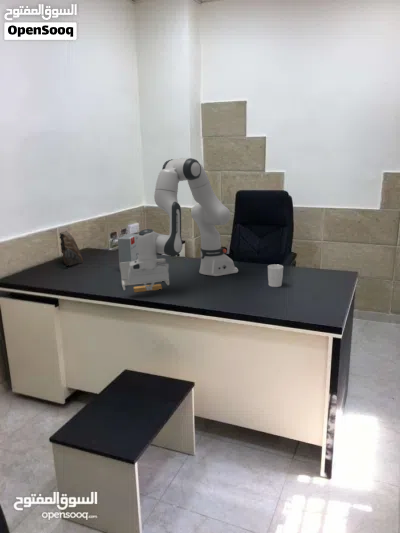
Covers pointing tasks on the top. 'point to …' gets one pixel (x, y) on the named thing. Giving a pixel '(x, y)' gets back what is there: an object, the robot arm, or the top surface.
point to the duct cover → (125, 267)
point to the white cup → (275, 275)
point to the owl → (70, 249)
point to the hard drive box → (128, 248)
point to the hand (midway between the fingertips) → (149, 290)
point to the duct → (125, 282)
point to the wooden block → (143, 288)
